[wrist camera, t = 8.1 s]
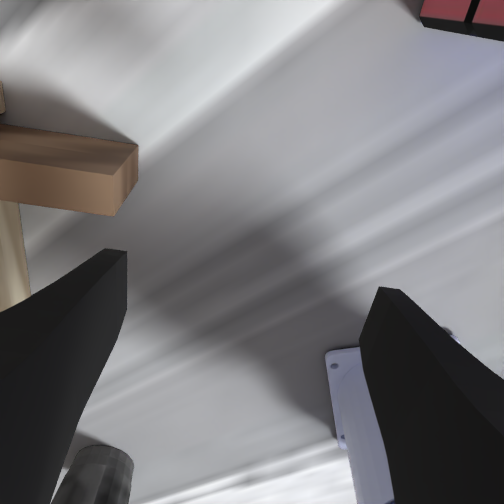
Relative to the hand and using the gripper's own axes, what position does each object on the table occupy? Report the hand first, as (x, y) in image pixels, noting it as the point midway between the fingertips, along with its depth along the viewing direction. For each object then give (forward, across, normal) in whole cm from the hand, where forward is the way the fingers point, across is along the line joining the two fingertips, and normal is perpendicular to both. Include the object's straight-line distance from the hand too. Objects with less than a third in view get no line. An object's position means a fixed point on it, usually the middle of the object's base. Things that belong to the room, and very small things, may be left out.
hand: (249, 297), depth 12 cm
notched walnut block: (+10, +13, 0) cm, 16 cm away
